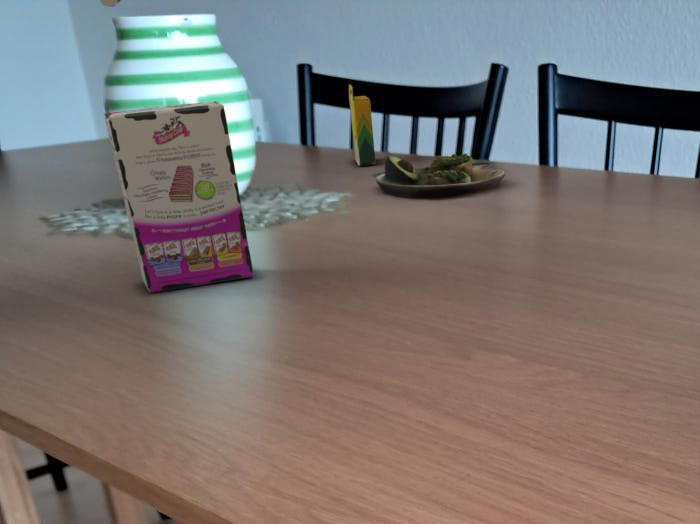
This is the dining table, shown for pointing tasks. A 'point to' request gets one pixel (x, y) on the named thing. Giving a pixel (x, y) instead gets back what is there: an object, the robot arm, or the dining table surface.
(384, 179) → the salad plate
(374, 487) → the dining table surface
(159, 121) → the candy bar box
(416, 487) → the dining table surface
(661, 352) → the dining table surface
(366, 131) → the crayon box
